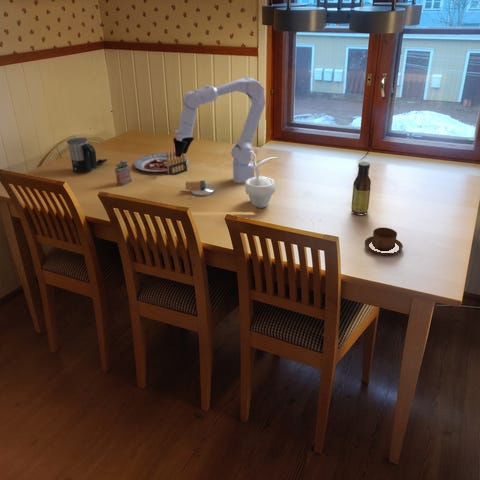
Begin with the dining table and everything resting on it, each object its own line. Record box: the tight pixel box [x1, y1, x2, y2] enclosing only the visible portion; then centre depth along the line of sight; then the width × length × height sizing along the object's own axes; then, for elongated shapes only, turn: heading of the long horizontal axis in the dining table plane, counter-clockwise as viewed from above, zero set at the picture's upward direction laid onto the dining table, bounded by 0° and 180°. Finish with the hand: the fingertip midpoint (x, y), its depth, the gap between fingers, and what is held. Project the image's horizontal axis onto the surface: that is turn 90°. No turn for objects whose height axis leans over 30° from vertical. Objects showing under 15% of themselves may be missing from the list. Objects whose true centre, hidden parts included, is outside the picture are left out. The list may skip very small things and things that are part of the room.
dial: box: [184, 180, 216, 197], centre depth 199 cm, size 12×10×4 cm
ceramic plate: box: [134, 153, 189, 173], centre depth 232 cm, size 26×26×3 cm
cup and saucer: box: [364, 227, 404, 256], centre depth 156 cm, size 12×12×6 cm
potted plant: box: [244, 147, 279, 209], centre depth 184 cm, size 13×12×25 cm
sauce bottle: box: [350, 161, 372, 215], centre depth 177 cm, size 7×6×20 cm
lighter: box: [114, 160, 133, 187], centre depth 210 cm, size 8×3×10 cm, turn 149°
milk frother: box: [66, 137, 108, 174], centre depth 227 cm, size 14×16×15 cm
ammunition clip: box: [166, 148, 188, 176], centre depth 220 cm, size 11×2×12 cm, turn 136°
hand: (180, 154), depth 198 cm, fingers open, 7 cm apart
